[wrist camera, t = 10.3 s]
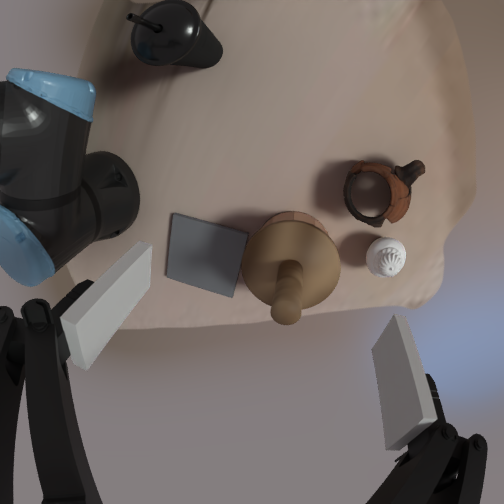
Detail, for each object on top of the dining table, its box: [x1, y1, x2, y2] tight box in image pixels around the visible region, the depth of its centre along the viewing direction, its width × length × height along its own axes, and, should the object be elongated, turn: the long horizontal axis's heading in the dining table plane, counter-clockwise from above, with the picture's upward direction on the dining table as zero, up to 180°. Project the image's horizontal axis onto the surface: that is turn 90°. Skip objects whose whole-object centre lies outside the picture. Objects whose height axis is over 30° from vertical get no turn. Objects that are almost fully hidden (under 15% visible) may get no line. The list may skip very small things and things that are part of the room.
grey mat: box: [167, 213, 249, 298], centre depth 48 cm, size 12×12×1 cm
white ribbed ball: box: [366, 237, 406, 277], centre depth 39 cm, size 6×6×7 cm
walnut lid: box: [241, 220, 341, 325], centre depth 35 cm, size 13×13×10 cm
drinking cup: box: [126, 0, 223, 68], centre depth 25 cm, size 8×8×20 cm
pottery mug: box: [343, 160, 425, 227], centre depth 36 cm, size 12×10×8 cm
